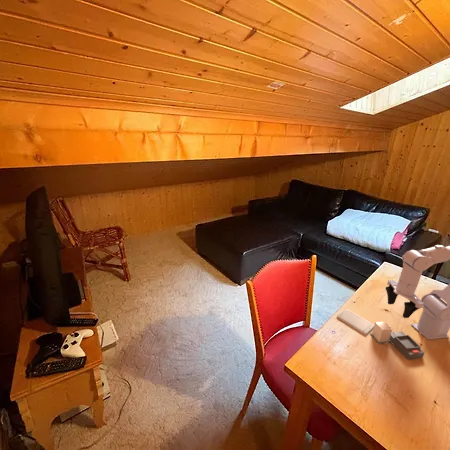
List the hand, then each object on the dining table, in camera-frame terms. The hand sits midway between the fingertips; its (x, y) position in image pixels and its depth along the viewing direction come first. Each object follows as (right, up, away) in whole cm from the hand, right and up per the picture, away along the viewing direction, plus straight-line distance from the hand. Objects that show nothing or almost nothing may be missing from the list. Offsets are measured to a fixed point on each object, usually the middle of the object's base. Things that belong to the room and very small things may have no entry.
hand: (397, 310), depth 95 cm
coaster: (-7, -11, 0) cm, 13 cm away
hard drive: (-12, -9, +9) cm, 17 cm away
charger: (-7, -11, 0) cm, 13 cm away
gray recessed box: (-1, -13, -4) cm, 13 cm away
